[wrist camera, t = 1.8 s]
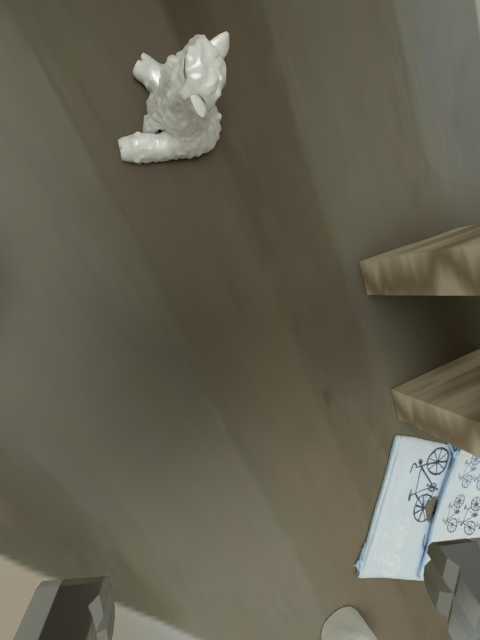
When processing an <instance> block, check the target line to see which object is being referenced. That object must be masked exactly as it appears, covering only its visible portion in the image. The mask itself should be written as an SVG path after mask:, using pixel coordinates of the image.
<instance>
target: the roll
mask: <svg viewBox="0 0 480 640" xmlns="http://www.w3.org/2000/svg"><path fill="white" fill-rule="evenodd" d="M321 640H377V638H376V637H375V635H374V634H373V632H372V631H371V630H370V628H369V627H368V625H367V624H366V623H365V621H364V620H363V618H362V617H361V615H360V614H359V613H358V611H357V610H356V609H355V608H353V607H351V606H347V607H342V608H340V609H339V610H337V611H335V612H334V613H333V614H332V615H331V616H330V617H329V618H328V619H327V620H326V621H325V623H324V625H323V628H322V632H321Z"/></svg>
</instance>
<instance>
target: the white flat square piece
mask: <svg viewBox="0 0 480 640" xmlns="http://www.w3.org/2000/svg"><path fill="white" fill-rule="evenodd" d="M433 496H437V498H438V499H436V500H437V505H436V510H435V514H434V515H433V516H432V517H431V520H430V522H429V523H428V521H427V519H426V511H425V507H426V505H427V502H428V501H429V500H431V498H432V497H433ZM478 537H480V458H478V457H476V456H474V455H472V454H470V453H468V452H466V451H464V450H462V449H459V448H457V447H455V446H452V445H451V444H449V443H447V444H443V443H439V442H434V441H429V440H424V439H420V438H416V437H411V436H407V435H395V437H394V440H393V444H392V448H391V452H390V456H389V460H388V464H387V468H386V472H385V475H384V479H383V482H382V486H381V489H380V493H379V496H378V500H377V503H376V506H375V510H374V513H373V517H372V521H371V525H370V528H369V532H368V535H367V539H366V542H364V546H363V547H362V548H361V552H360V555H359V558H358V560H357V562H356V564H354V566H356V568H357V571H356V573H355V574H356V575H357V577H358V578H380V577H383V578H396V579H407V580H421V581H424V577H423V574H424V566H425V565H426V564H427V563H428V562H429V561H430V560H431V559H430V557H429V555H428V554H427V550H428V546H429V545H430V544H431V543H432V542H439V541H447V540H455V539H464V538H467V539H470V538H478Z"/></svg>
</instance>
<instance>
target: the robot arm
mask: <svg viewBox="0 0 480 640" xmlns="http://www.w3.org/2000/svg"><path fill="white" fill-rule="evenodd" d="M427 554H428V555H429V557H430V559H431V560H430V561H429V562H428V563H427V564H426V565H425V566H424V574H423V577H424V582H425V587H426V590H427V593H428V595H429V598H430V600H431V602H432V603H433V605H434V607H435V609H436V610H437V611H438V612H439V613H441V614H442V615H443V616H444V617H446V618H447V619H448V632H449V634H450V635H451V637H452V639H453V640H480V537H478V538H470V539H467V538H464V539H455V540H447V541H439V542H432V543H431V544H430V545H429V546H428V550H427ZM110 587H111V584H110V580H109V576H100V577H87V578H74V579H60V580H50V581H42V582H41V584H40V585H39V586H38V587H37V589H36V591H35V593H34V595H33V597H32V599H31V601H30V604H29V606H28V608H27V610H26V612H25V615H24V617H23V619H22V621H21V624H20V626H19V628H18V630H17V632H16V635H15V637H14V639H13V640H112V635H113V628H114V619H115V606H114V600H113V598H111V597H110V596H109V591H110Z"/></svg>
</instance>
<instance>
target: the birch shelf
mask: <svg viewBox="0 0 480 640" xmlns="http://www.w3.org/2000/svg"><path fill="white" fill-rule="evenodd" d="M359 265H360V269H361V273H362V277H363V281H364V285H365V289H366V293H367V295H432V296H480V224H475V225H470V226H465V227H460V228H456V229H452V230H449V231H446V232H443V233H440V234H437V235H434V236H431V237H428V238H426V239H423V240H420V241H417V242H414V243H411V244H408V245H405V246H402V247H400V248H397V249H394V250H391V251H388V252H385V253H382V254H379V255H376V256H373V257H371V258H368V259H365V260H362V261H359ZM391 392H392V396H393V400H394V404H395V408H396V412H397V416H398V419H399V420H401V421H403V422H405V423H408V424H410V425H412V426H414V427H416V428H418V429H420V430H422V431H424V432H426V433H428V434H430V435H432V436H435V437H437V438H439V439H441V440H443V441H445V442H447V443H449V444H451V445H453V446H455V447H457V448H459V449H462V450H464V451H466V452H468V453H470V454H472V455H474V456H476V457H478V458H480V350H479V349H477V350H475V351H473V352H471V353H468V354H466V355H464V356H462V357H460V358H458V359H456V360H453V361H451V362H449V363H447V364H445V365H443V366H440V367H438V368H436V369H434V370H432V371H430V372H427V373H425V374H423V375H421V376H419V377H417V378H414V379H412V380H410V381H408V382H406V383H404V384H401V385H399V386H397V387H395V388H393V389H391Z"/></svg>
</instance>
